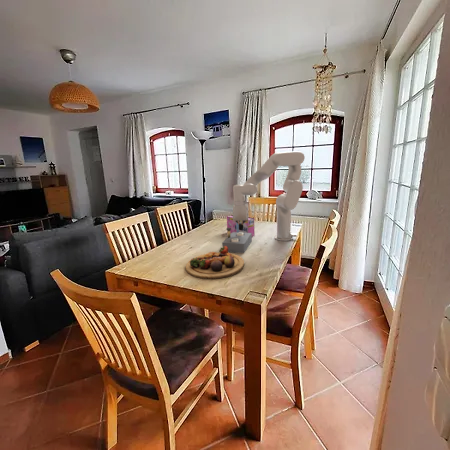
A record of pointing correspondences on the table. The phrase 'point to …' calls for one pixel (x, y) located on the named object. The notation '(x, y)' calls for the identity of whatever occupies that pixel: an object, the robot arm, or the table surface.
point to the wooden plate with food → (215, 265)
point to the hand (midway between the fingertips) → (241, 229)
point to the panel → (238, 246)
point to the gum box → (247, 225)
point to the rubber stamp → (228, 232)
